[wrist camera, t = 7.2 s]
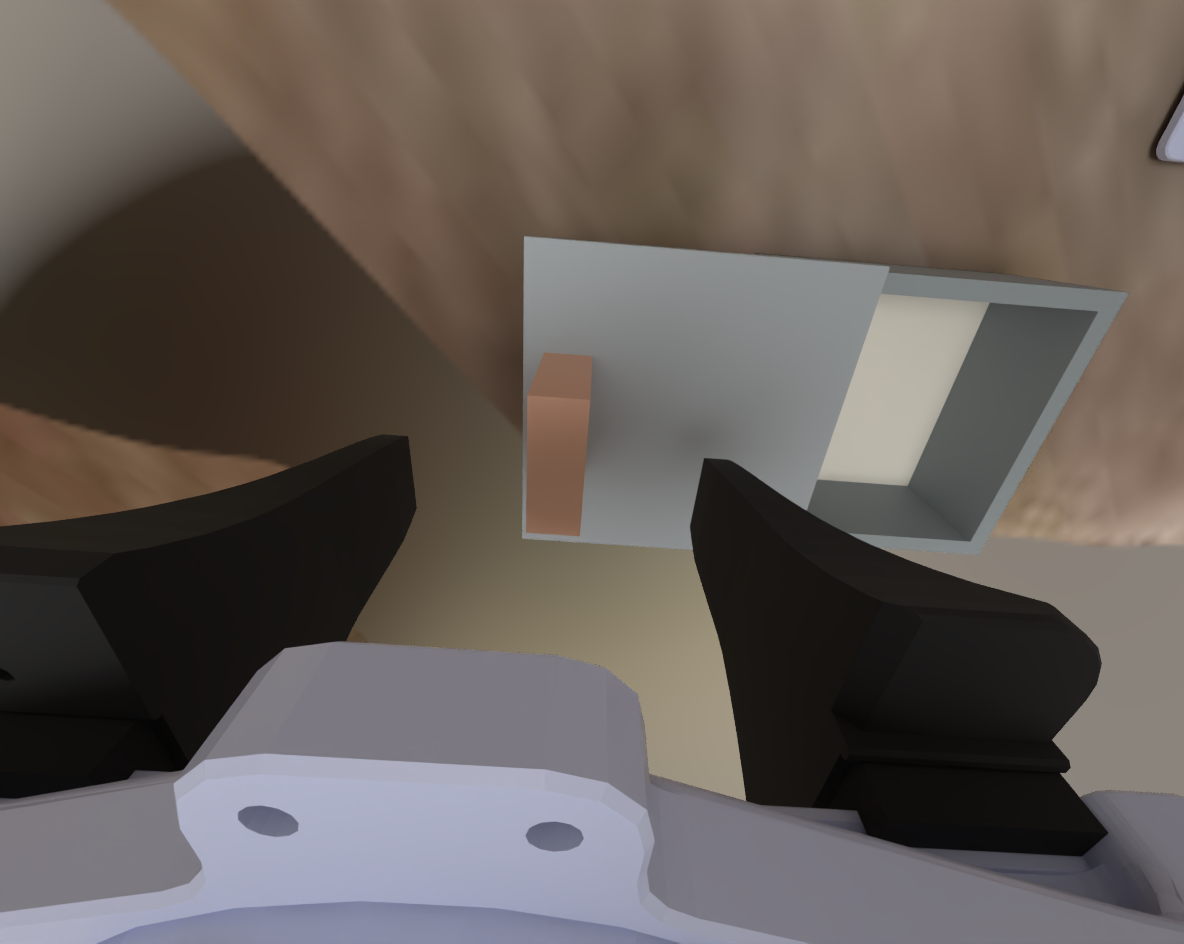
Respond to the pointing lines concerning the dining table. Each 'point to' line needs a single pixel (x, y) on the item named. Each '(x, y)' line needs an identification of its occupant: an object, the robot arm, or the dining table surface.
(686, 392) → the lid
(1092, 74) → the dining table surface
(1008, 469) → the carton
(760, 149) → the dining table surface
